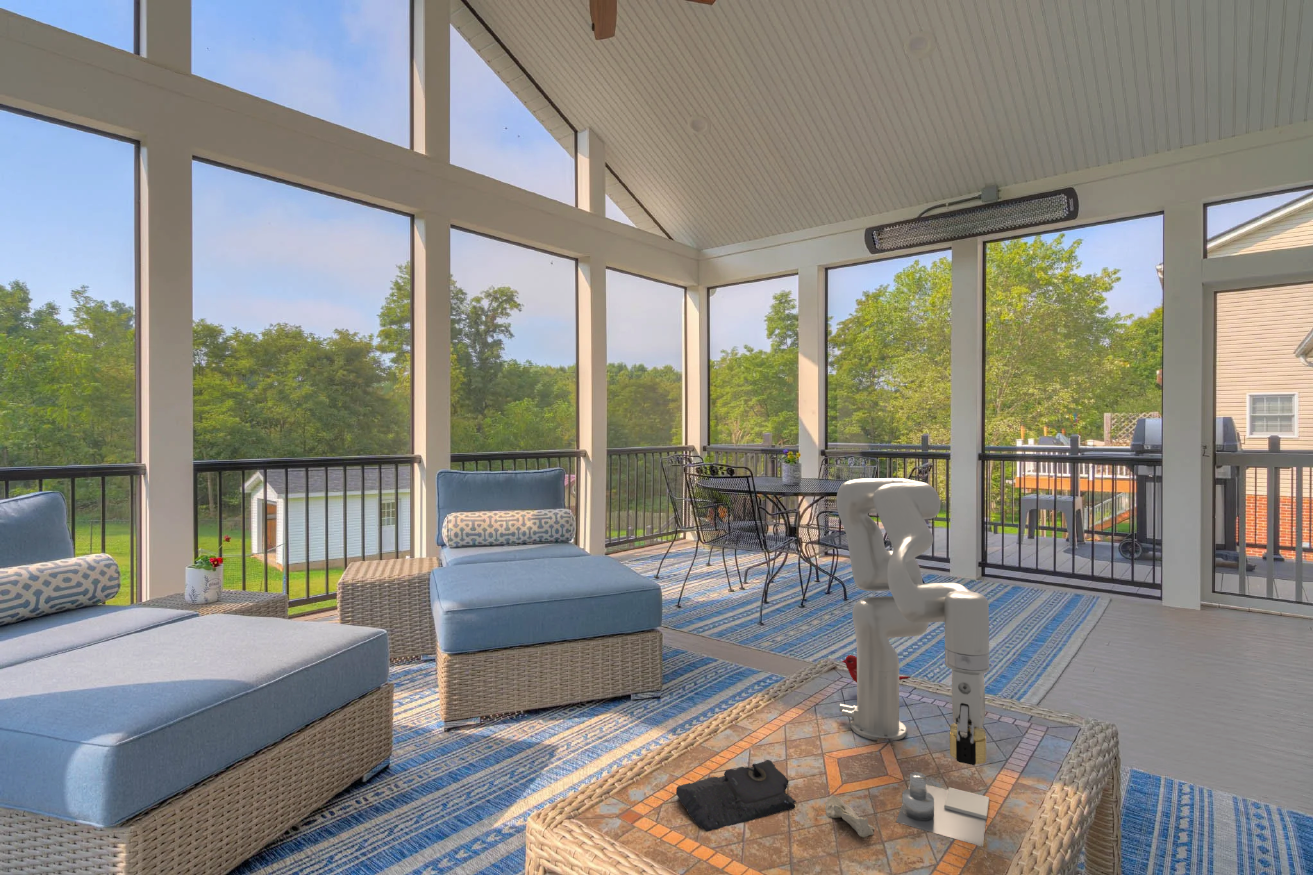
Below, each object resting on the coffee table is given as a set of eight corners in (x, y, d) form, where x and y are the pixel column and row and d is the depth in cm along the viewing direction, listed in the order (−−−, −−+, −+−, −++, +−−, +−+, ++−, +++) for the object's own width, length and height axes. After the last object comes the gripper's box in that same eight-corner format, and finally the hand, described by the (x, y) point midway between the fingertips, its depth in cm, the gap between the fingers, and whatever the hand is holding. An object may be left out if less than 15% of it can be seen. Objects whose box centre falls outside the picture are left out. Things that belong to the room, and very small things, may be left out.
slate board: (895, 827, 117) (895, 821, 117) (911, 785, 131) (911, 780, 131) (982, 852, 110) (982, 846, 110) (989, 805, 124) (989, 800, 124)
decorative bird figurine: (842, 688, 181) (842, 652, 181) (910, 698, 174) (910, 660, 174) (841, 691, 178) (841, 655, 178) (910, 702, 171) (910, 664, 171)
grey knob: (899, 815, 119) (899, 778, 119) (905, 801, 123) (905, 765, 123) (931, 824, 116) (931, 786, 116) (935, 809, 121) (935, 772, 121)
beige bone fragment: (838, 807, 124) (838, 784, 124) (882, 837, 114) (882, 812, 114) (816, 816, 121) (816, 792, 121) (859, 847, 112) (859, 821, 112)
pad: (944, 807, 121) (944, 804, 121) (948, 790, 127) (949, 787, 127) (986, 819, 118) (986, 815, 118) (989, 800, 124) (989, 797, 124)
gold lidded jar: (984, 766, 118) (984, 734, 118) (948, 758, 121) (948, 727, 121) (987, 753, 123) (986, 722, 123) (952, 745, 126) (952, 715, 126)
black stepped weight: (666, 794, 129) (666, 770, 129) (760, 770, 138) (760, 747, 138) (702, 837, 115) (702, 810, 115) (804, 807, 124) (804, 783, 124)
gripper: (985, 677, 113) (986, 781, 113) (992, 649, 128) (993, 741, 128) (939, 669, 117) (940, 770, 117) (950, 643, 131) (951, 732, 131)
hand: (967, 754), depth 122 cm, fingers closed on gold lidded jar, 6 cm apart
